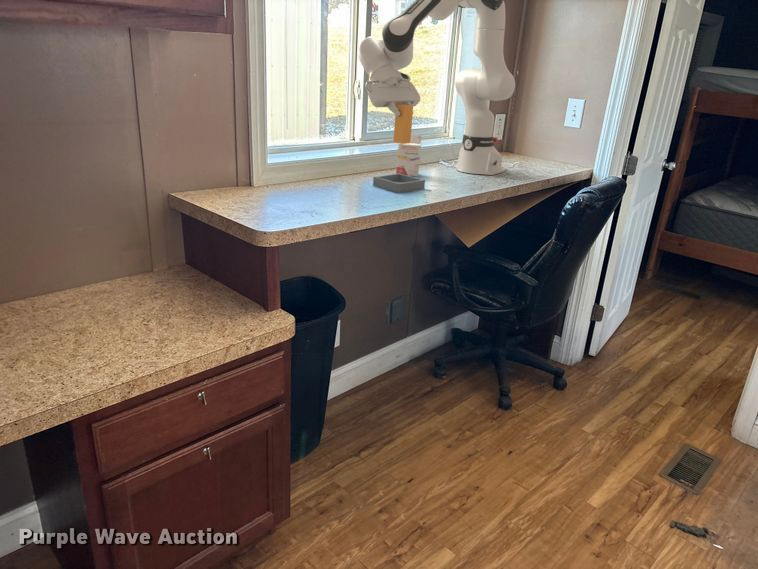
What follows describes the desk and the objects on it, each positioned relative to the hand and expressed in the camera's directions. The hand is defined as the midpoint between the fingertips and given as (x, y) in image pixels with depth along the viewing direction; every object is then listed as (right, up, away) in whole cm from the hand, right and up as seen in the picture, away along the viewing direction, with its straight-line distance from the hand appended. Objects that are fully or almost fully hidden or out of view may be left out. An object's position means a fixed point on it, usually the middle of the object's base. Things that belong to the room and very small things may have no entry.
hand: (405, 115), depth 184 cm
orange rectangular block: (-1, -8, +4) cm, 9 cm away
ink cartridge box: (+2, -13, +31) cm, 34 cm away
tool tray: (-2, -22, +10) cm, 24 cm away
